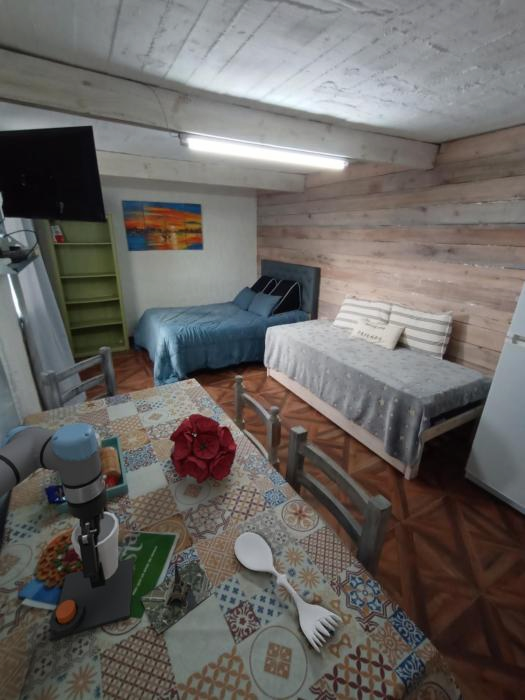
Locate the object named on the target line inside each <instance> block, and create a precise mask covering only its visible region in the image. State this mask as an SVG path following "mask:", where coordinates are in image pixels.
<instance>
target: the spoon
mask: <svg viewBox="0 0 525 700" xmlns="http://www.w3.org/2000/svg"><path fill="white" fill-rule="evenodd" d="M233 547H234V553H235V556H236V558H237V560H238V561H239V562H240V563H241V564H242V565H243V566H244V567H245V568H247V569H249V570H252V571H256V572H265V573H271V574H272V575H273V576H275V577H276V581H275V582H276V585H278V586H282V587H284V589H286V591H287V592H288V593H289V594H290V595H291V597H292V599H293V601H294V603H295V606H296V608H297V611H298V618H299V624H300V625H299V626H300V627H301V628H300V629H301V630H302V632H303V634H304V636H305V637H306V639H307V640H308V642H309V643H310V645H311V646H312V647H313V649H314V650H315V651H317V653H321V650H320V648H319V647H318V645H319V646H320V647H322V648H324V646H323V644H322V642H324V643H327V641H326V639H325V638H324V637H323V636H322V634H323V635H325V636H326V637H331V634H330V633H329V631H328V630H327V629H326V628H328V629H330V630H331V631H333V632H336V630H335V628H334V627H333V626H335V627H337V628H339V625H338V623H337V622H339V623H341V624H344V620H343V619H342V618H341V617H340V615H338V614H335V613H333V612H332V611H330V610H328V609H327V608H325V607H323V606H320V605H317V604H311V603H309V602H306V601H304V600H303V599H302V598H301V596H300V595H299V594H298V593H297V591H296V590H295V589H294V588H293V587H292V585H291V584H290V583H289V582H288V576H287V575H286V574H285V573H283V574H281V573H279V572H278V571H277V570H276V568H275V566H274V559H273V553H272V550H271V547H270V545H269V544H268V543H267V542H266V540H265V538H263V537H262V536H261V535H259V534H257V533H255V532H252V531H246V532H244V533H241V534H240V535H239V536H238V537H237V538H236V539H235V542H234V545H233ZM336 621H337V622H336ZM331 624H332V625H331ZM324 626H325V627H324ZM320 633H321V634H320ZM320 640H321V641H322V642H321V641H320Z"/></svg>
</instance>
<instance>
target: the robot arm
mask: <svg viewBox="0 0 525 700" xmlns="http://www.w3.org/2000/svg"><path fill="white" fill-rule="evenodd" d="M93 427H94V426H92V425H91V424H89V423H85V422H78V423H74V422H73V423H68V424H66V425H64V426H62V427H59V428H58V429H56V430H53V429H49V428H44V427H42V426H29V425H21V426H17V427H15V428H13V429H10V430H9V432H7V434H6V435H5V437H3V439H2V440H1V443H0V499H1V498H3V497H4V496H5V495H6V494H8V493H9V492H10V491H11V490H12V489H14V488H15V487H16V486H18V485H20V484H21V483H22V482H23V481H25V480H26V479H27V478H29V477H30V476H31V475H33V474H34V473H35V472H36V471H38V470H39V469H44V470H48V471H55V472H58V473H59V476H60V477H59V478H60V481H61V485H62V490H63V494H64V497H65V500H66V504H67V508H68V513H69V514H70V516H71V517H73V518H75V519H78V520H79V522H80V527H81V534H82V535H79V536H78V543H79V546H80V552H81V559H80V561H81V560H82V561H81V567H82V569H81V571H82V573H83V576H84V578H88V577H89V579H90V583H91V586H92V589H93V588H97V587H100V586H104V585H105V584H106V580H105V576H104V572H103V567H102V563H101V562H100V560H99V551H98V547H95V545H97V544H98V535H99V534H100V520H101V519H104V512H109V513H110V511H109V508H108V505H107V504H108V501H109V496H108V490H107V486H106V479H107V478H108V477H107V474H103V473H104V471H103V466H102V461H101V455H100V449H99V446H100V445H99V441H98V439H97V436H96V432H95V429H94V428H93ZM95 529H96V531H94V532H90V531H92V530H95Z"/></svg>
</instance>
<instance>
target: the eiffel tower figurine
mask: <svg viewBox="0 0 525 700" xmlns="http://www.w3.org/2000/svg"><path fill="white" fill-rule="evenodd" d="M173 564H174V574H173V575H170V577H168V578H167V579H165V580H164V581H162V582H161V583H159V584H158V585H157V586H155V587H154V588H152V589H151V590H150V591H149V592H146V594H144V595H143V596H142V597H140V601H141V603H142V605H143V607H144V609H145V611H146V613H147V615H148V618H149V620H150V621H151V623H152V626H153V627H154V629H155V631H156V633H157V635H160V634H161V633H163V632H164V631H166V630H167V629H169V627H171V626H172V625H174V624H175V623H176V622H178V621H179V620H180V619H181V618H182V617H183V616H184V615H186V614H187V613H189V612H190V611H191V610H192V609H193V608H194V607H196V606H197V605H199V604H200V603H202V602H203V601H204V600H205V599H207V598H209V596H212V594H214V593H215V592H217V589H216V587H215V585H214V584H212V582H211V580H210V579H209V577H208V576H207V575H206V573H205V572H204V570H203V569H202V568H201V566H200V565H199V563H198V562H197V560H196V559H194V560H192V561H191V562H189V563H188V564H186V565H185V566H184V567H182V568H181V569H180V570H179V566H178V560H177V558H175V560H174V563H173Z"/></svg>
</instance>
